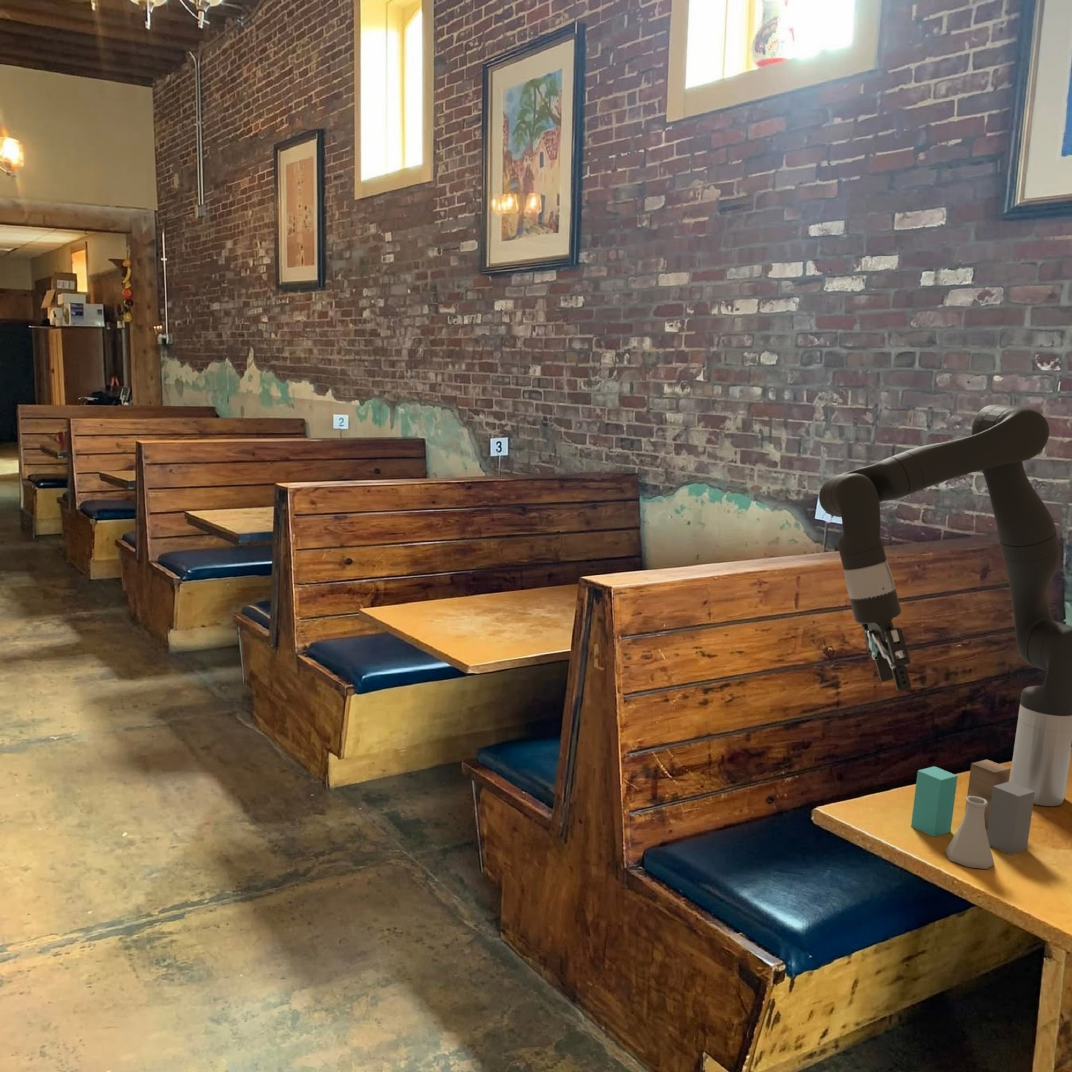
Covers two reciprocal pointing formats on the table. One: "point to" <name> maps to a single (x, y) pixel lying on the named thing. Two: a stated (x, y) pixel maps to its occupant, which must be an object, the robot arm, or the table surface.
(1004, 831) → the charcoal post
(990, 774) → the walnut post
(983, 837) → the flask
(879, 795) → the table surface
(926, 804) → the teal post
